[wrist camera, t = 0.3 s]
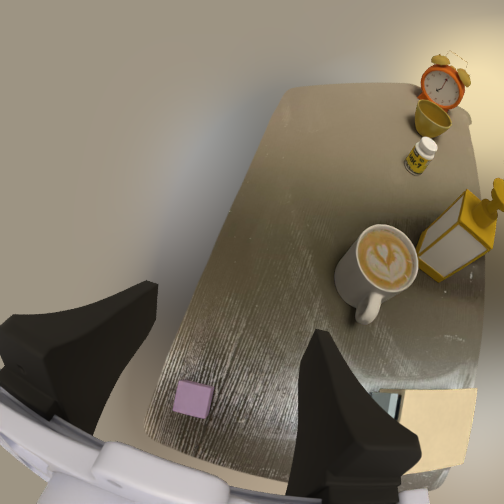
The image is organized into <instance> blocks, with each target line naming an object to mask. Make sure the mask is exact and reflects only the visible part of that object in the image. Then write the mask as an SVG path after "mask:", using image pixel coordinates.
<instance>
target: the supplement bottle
mask: <svg viewBox="0 0 504 504" xmlns="http://www.w3.org/2000/svg"><path fill="white" fill-rule="evenodd" d="M436 151H437V145H436V143H435V142H434V141H433V140H432V139H430V138H429V137H422V139H421V140H420V142H418V143H416V145H415V146H414V148H413V149H412V151H411V152H410V154H409V155H408V157H407V158H406V160H405V167H406V168H407V170H408V171H409V172H410V173H412V174H414V175H420V174H422V172H423V171H424V170H425V169H426V167H427V166H428V165H429V163H430V162H431V161H432V159H433V158H434V154H435V152H436Z"/></svg>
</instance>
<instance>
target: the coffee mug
mask: <svg viewBox="0 0 504 504" xmlns="http://www.w3.org/2000/svg"><path fill="white" fill-rule="evenodd" d="M417 272H418V257H417V253H416V250H415V248H414V246H413V244H412V243H411V241H410V240H409V239H408V237H407V236H406V235H405V234H404V233H402V232H401V231H400V230H398V229H396V228H394V227H392V226H389V225H374V226H371V227H369V228H367V229H366V230H365V231H364V232H363V233H362V234H361V235H360V236H359V237H358V239H357V240H356V241H355V242H354V244H353V245H352V246H351V247H350V249H349V250H348V251H347V252H346V254H345V255H344V256H343V257H342V259H341V260H340V261H339V263H338V264H337V266H336V269H335V274H334V280H335V286H336V289H337V291H338V293H339V295H340V296H341V298H342V299H343V300H344V301H345V302H346V303H348V304H349V305H351V306H353V307H355V308H356V313H355V319H356V321H357V322H358V323H360V324H364V325H366V324H369V323H371V322H372V321H373V320H374V319H375V318H376V316H377V314H378V312H379V309H380V305H381V303H383V302H385V301H387V300H388V299H390V298H392V297H393V296H395V295H397V294H399V293H400V292H402V291H404V290H405V289H407V288H408V287H409V286H410V285H411V284H412V283H413V281H414V280H415V278H416V275H417Z"/></svg>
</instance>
